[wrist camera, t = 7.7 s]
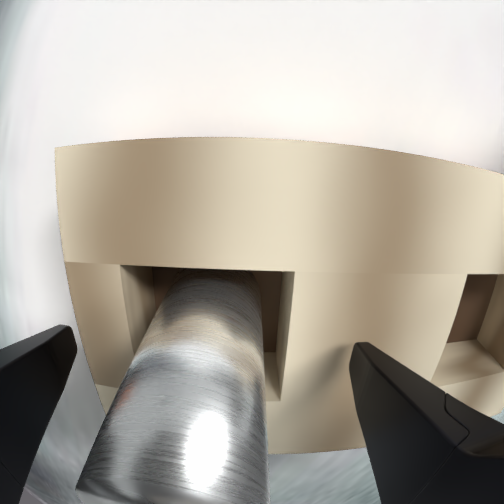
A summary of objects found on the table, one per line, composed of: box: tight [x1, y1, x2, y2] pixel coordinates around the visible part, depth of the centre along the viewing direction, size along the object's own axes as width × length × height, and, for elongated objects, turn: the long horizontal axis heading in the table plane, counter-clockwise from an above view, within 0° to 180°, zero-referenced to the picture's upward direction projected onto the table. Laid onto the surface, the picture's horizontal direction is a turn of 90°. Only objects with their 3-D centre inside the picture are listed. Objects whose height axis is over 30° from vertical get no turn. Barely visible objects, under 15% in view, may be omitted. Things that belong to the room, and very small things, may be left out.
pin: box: [75, 268, 270, 504], centre depth 8 cm, size 4×4×9 cm
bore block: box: [55, 137, 504, 454], centre depth 11 cm, size 20×12×4 cm, turn 88°
